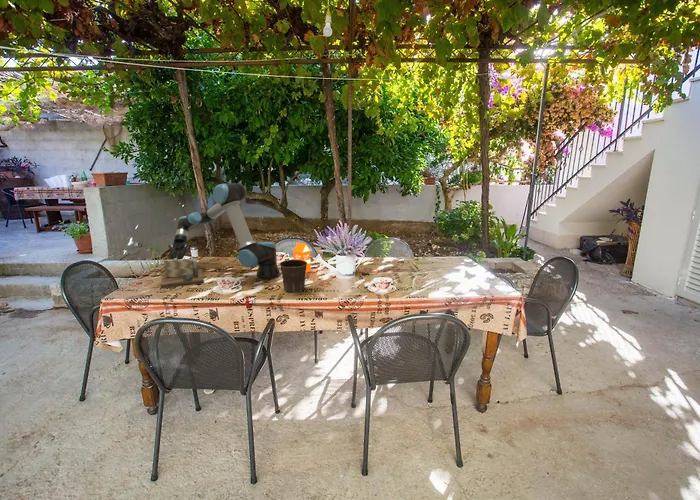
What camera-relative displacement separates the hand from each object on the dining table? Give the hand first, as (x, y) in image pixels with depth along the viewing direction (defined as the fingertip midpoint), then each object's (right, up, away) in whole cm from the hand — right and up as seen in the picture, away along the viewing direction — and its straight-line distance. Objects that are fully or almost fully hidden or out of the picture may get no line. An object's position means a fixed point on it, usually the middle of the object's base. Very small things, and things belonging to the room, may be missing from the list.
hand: (173, 268), depth 236 cm
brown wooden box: (+5, -7, +2) cm, 9 cm away
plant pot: (+80, -12, -17) cm, 83 cm away
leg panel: (+4, -5, -1) cm, 7 cm away
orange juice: (+80, -3, +19) cm, 83 cm away
